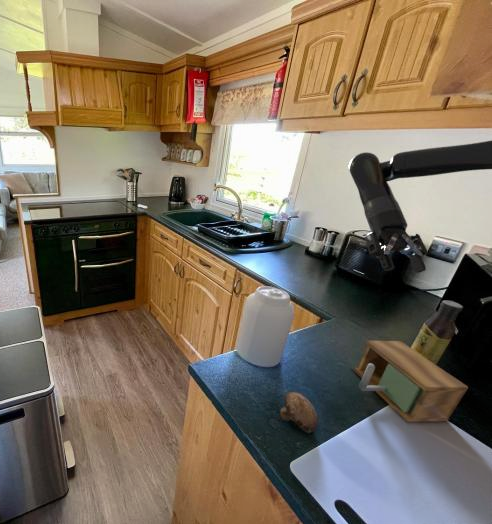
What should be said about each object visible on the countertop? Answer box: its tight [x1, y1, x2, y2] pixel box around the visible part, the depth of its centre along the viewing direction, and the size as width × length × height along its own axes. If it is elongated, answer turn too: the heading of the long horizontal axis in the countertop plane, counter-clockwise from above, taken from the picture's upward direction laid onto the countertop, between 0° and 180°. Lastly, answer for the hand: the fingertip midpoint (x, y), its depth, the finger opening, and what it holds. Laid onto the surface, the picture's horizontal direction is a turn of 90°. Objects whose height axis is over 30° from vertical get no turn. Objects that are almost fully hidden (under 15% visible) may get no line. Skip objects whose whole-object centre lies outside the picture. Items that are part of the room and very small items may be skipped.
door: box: [358, 363, 421, 413], centre depth 67 cm, size 7×8×8 cm
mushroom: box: [279, 391, 319, 434], centre depth 62 cm, size 8×8×6 cm
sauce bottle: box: [410, 300, 464, 365], centre depth 81 cm, size 6×6×20 cm
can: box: [234, 285, 295, 368], centre depth 80 cm, size 12×12×20 cm
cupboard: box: [353, 340, 469, 423], centre depth 70 cm, size 10×16×10 cm, turn 4°
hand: (405, 270), depth 73 cm, fingers open, 8 cm apart
